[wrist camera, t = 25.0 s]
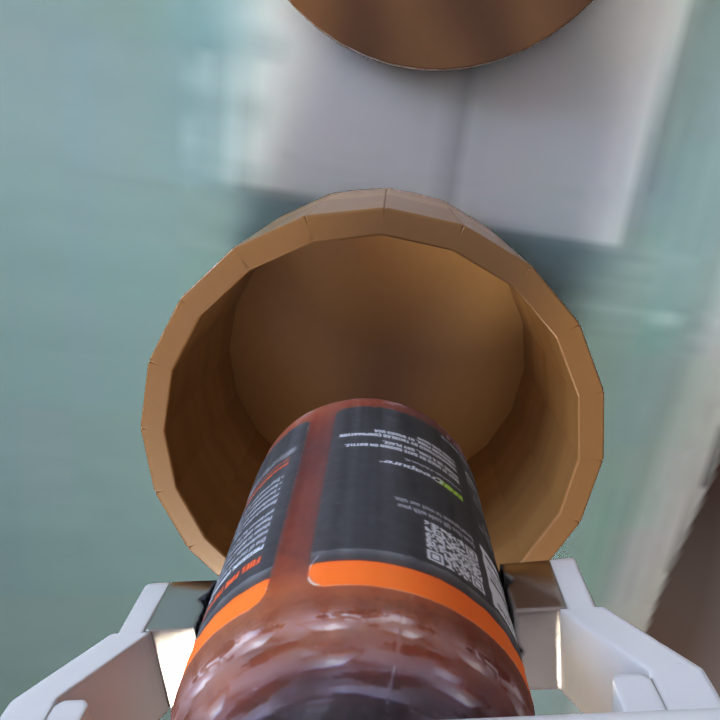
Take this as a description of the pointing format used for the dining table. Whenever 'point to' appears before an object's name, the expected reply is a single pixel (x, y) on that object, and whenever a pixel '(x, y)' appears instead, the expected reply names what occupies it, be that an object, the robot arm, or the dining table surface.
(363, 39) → the lid
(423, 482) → the supplement bottle
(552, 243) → the dining table surface
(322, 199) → the round wooden box
